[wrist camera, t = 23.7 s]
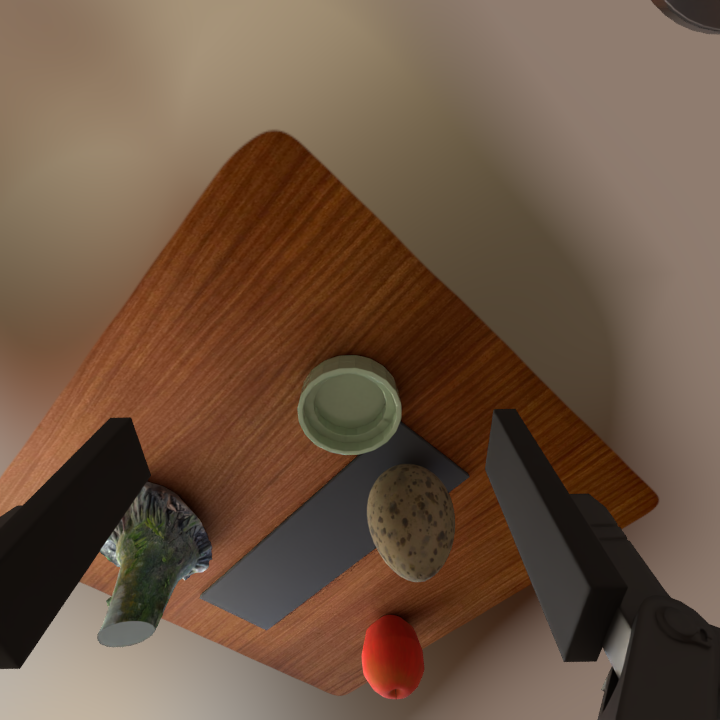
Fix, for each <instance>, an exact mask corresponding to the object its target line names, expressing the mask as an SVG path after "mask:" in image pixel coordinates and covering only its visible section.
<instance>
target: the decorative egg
mask: <svg viewBox="0 0 720 720" xmlns="http://www.w3.org/2000/svg"><path fill="white" fill-rule="evenodd" d="M367 519H368V525H369V530H370V533H371V536H372V539H373V541H374V544H375V546H376V548H377V550H378V552H379V553H380V555H381V557H382V558H383V559H384V561H385V562H386V563H387V565H388V566H389V567H390V568H391V569H392V570H393V571H394V572H395V573H397V574H398V575H399V576H401V577H402V578H404V579H406V580H409V581H412V582H422V581H426V580H428V579H430V578H432V577H433V576H434V575H435V574H436V573H437V572H438V571H439V570H440V569H441V568H442V566H443V565H444V563H445V562H446V560H447V558H448V556H449V553H450V551H451V547H452V544H453V540H454V532H455V515H454V509H453V504H452V501H451V498H450V495H449V493H448V491H447V489H446V487H445V486H444V484H443V483H442V482H441V480H440V479H439V478H438V477H437V476H436V475H435V474H433V473H432V472H431V471H429V470H427V469H426V468H424V467H421V466H418V465H414V464H401V465H397V466H394V467H391V468H389V469H388V470H386V471H385V472H384V473H382V474H381V475H380V476H379V477H378V479H377V480H376V481H375V483H374V485H373V487H372V489H371V491H370V494H369V498H368V504H367Z"/></svg>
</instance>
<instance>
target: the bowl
mask: <svg viewBox="0 0 720 720" xmlns="http://www.w3.org/2000/svg"><path fill="white" fill-rule="evenodd" d="M297 410H298V418H299V423H300V425H301V427H302V429H303V431H304V433H305V435H306V436H307V437H308V438H309V439H310V440H311V441H312V442H314V443H315V444H316V445H317V446H319V447H321V448H323V449H325V450H327V451H330V452H333V453H337V454H342V455H359V454H363V453H366V452H370V451H373V450H375V449H377V448H379V447H380V446H382V445H383V444H385V443H386V442H388V440H389V439H390V438H391V437H392V436H393V435H394V433H395V432H396V431H397V428H398V426H399V423H400V421H401V400H400V396H399V390H398V388H397V385H396V382H395V380H394V377H393V376H392V375H391V374H390V373H389V372H388V370H387V369H386V368H385V367H384V366H382V365H381V364H379V363H377V362H376V361H374V360H372V359H370V358H366V357H362V356H358V355H342V356H337V357H334V358H331V359H328V360H325V361H323V362H322V363H321V364H319V365H318V366H317V367H315V368H314V369H313V370H312V371H311V372H310V373H309V375H308V376H307V378H306V379H305V381H304V384H303V387H302V391H301V395H300V400H299V404H298V408H297Z"/></svg>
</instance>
